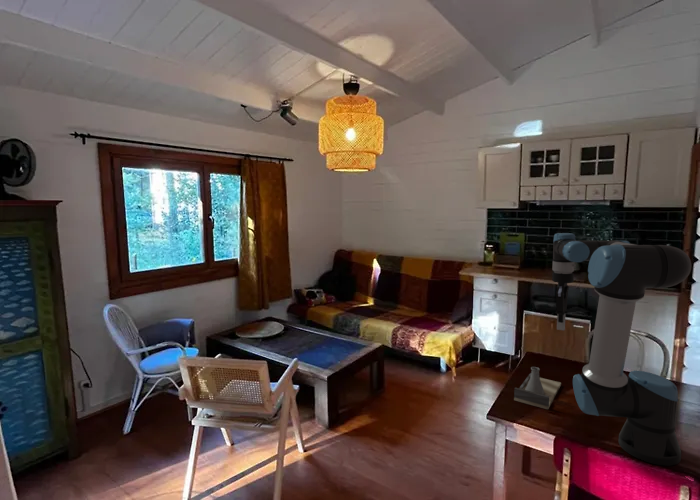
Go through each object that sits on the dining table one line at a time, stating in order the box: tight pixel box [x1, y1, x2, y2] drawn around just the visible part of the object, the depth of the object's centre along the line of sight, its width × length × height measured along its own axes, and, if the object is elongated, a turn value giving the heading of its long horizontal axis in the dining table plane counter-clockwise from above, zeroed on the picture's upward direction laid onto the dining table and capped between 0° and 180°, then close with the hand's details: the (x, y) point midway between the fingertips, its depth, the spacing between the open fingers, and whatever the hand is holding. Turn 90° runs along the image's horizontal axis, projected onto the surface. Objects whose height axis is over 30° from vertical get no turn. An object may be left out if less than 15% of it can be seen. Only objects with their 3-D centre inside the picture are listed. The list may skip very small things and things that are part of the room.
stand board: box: [513, 372, 562, 410], centre depth 157 cm, size 24×12×5 cm, turn 142°
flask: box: [525, 366, 545, 395], centre depth 154 cm, size 7×7×10 cm
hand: (560, 329), depth 159 cm, fingers closed
